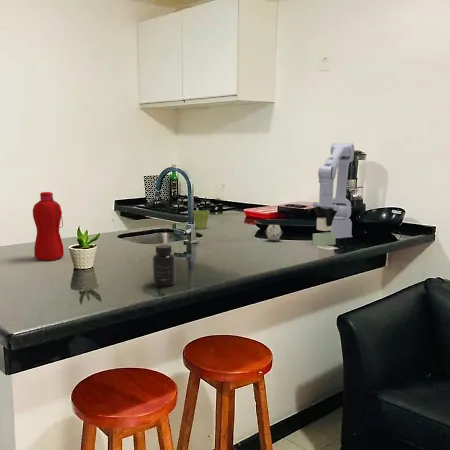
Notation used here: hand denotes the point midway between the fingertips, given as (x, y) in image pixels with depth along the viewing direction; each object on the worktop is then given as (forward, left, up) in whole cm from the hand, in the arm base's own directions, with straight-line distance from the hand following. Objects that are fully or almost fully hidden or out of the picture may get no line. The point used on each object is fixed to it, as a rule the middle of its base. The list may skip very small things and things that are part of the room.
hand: (324, 225), depth 221 cm
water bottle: (+109, -30, -9) cm, 113 cm away
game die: (+14, -18, -9) cm, 25 cm away
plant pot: (+26, -65, -9) cm, 71 cm away
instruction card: (+3, +5, -9) cm, 11 cm away
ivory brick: (0, 0, -2) cm, 2 cm away
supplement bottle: (+87, +23, -9) cm, 90 cm away
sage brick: (0, 0, -9) cm, 9 cm away
